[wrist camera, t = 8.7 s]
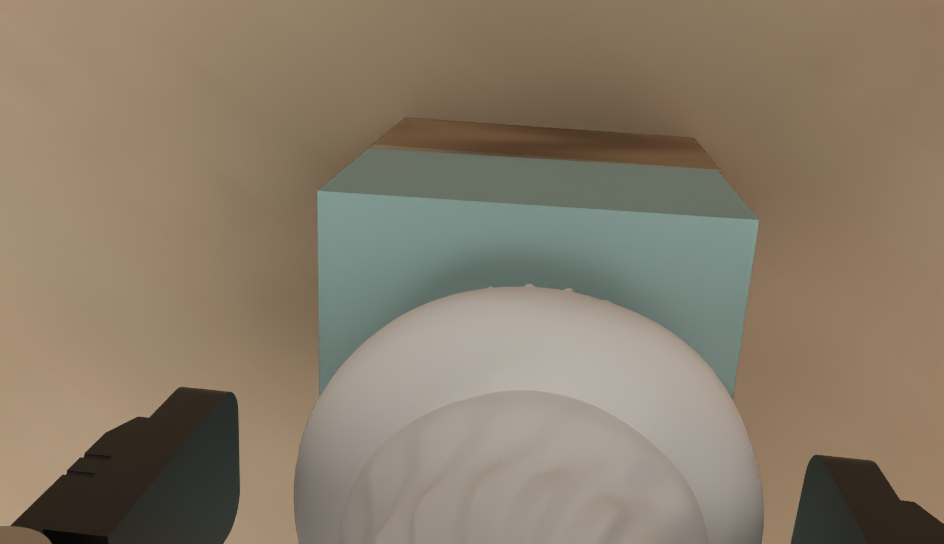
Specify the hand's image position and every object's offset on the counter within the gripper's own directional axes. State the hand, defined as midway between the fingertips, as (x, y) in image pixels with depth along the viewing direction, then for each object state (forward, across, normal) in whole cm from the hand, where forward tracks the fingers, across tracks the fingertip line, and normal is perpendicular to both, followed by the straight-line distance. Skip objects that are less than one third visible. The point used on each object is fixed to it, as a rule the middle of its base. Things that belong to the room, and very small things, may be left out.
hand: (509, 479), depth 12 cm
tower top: (+7, 0, 0) cm, 7 cm away
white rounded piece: (+3, 0, 0) cm, 3 cm away
